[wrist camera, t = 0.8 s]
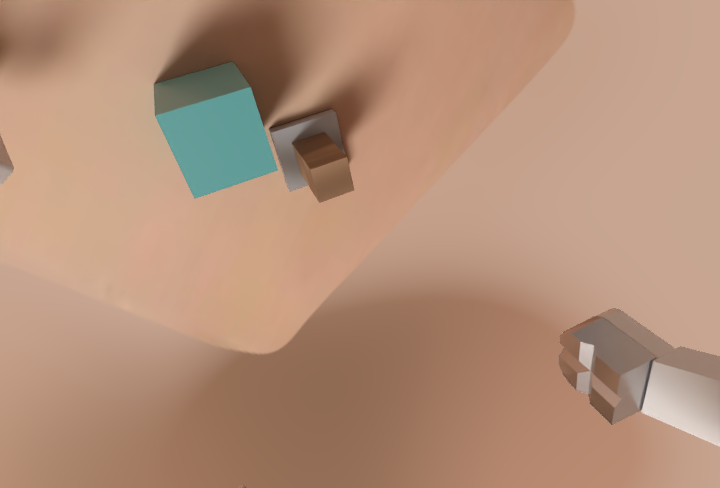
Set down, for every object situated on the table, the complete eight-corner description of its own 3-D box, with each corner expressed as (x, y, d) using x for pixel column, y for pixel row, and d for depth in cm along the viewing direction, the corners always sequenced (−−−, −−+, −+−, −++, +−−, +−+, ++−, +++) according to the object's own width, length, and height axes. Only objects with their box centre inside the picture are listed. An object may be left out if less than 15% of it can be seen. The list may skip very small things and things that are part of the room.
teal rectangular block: (153, 83, 29) (155, 115, 24) (232, 61, 30) (250, 86, 25) (187, 156, 32) (194, 198, 27) (257, 134, 33) (277, 170, 28)
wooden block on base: (269, 129, 33) (288, 159, 28) (332, 108, 34) (360, 134, 29) (287, 187, 36) (307, 222, 31) (345, 167, 37) (372, 198, 32)
